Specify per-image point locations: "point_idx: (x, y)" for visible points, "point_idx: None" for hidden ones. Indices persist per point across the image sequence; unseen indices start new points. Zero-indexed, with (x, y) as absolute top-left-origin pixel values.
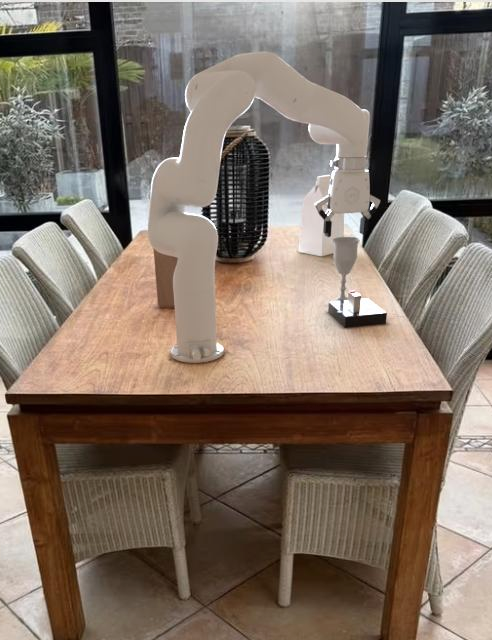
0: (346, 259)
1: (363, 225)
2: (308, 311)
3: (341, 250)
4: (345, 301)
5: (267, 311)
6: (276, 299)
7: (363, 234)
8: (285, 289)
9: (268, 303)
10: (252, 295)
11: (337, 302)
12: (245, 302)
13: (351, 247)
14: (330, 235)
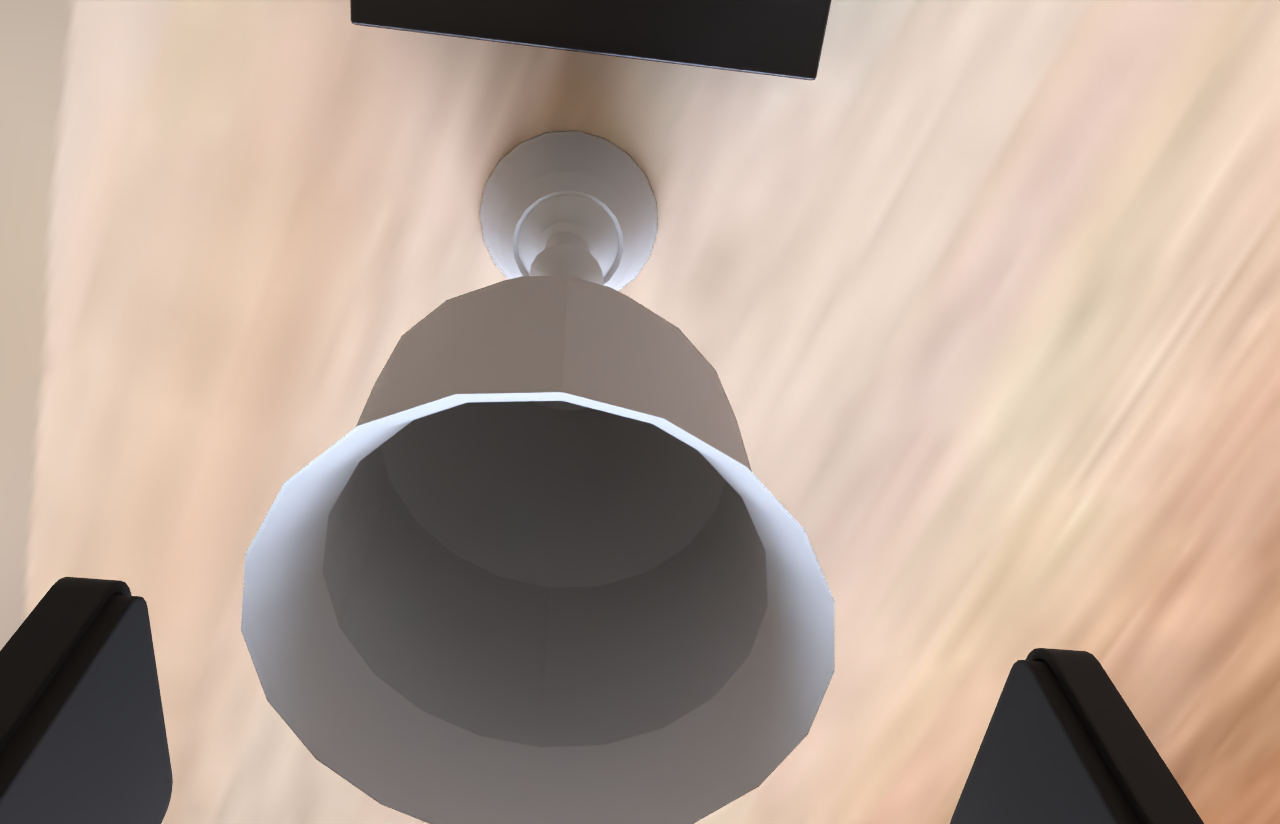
0: (611, 297)
1: (30, 802)
2: (937, 178)
3: (708, 416)
4: (643, 6)
5: (1242, 321)
6: (984, 588)
7: (129, 607)
8: (789, 776)
9: (1099, 517)
10: None
11: (743, 8)
12: (1230, 598)
13: (525, 373)
14: (1040, 668)
